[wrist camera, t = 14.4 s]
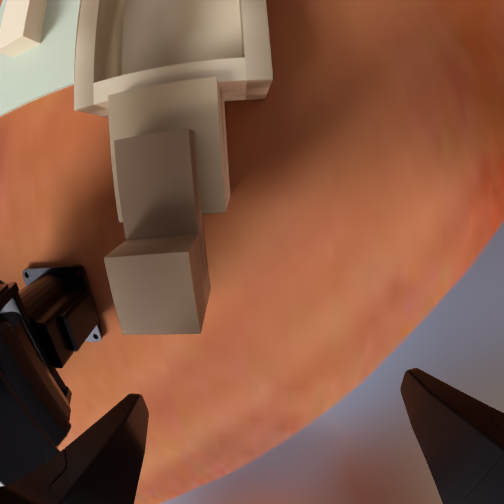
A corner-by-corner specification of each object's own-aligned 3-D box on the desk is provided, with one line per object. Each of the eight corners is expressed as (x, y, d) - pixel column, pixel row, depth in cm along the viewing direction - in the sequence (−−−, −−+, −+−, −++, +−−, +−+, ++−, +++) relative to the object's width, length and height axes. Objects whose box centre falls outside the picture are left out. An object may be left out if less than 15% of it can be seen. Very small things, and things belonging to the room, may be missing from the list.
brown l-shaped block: (149, 291, 14) (123, 334, 10) (128, 141, 12) (87, 138, 8) (210, 288, 14) (200, 333, 10) (195, 131, 12) (175, 121, 8)
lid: (-8, 123, 16) (-34, 123, 13) (8, 1, 12) (-12, -9, 9) (80, 85, 16) (55, 76, 13) (93, -43, 12) (78, -61, 9)
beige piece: (119, 206, 19) (75, 227, 13) (120, -37, 12) (92, -75, 7) (270, 192, 19) (283, 208, 13) (251, -57, 13) (254, -105, 7)
